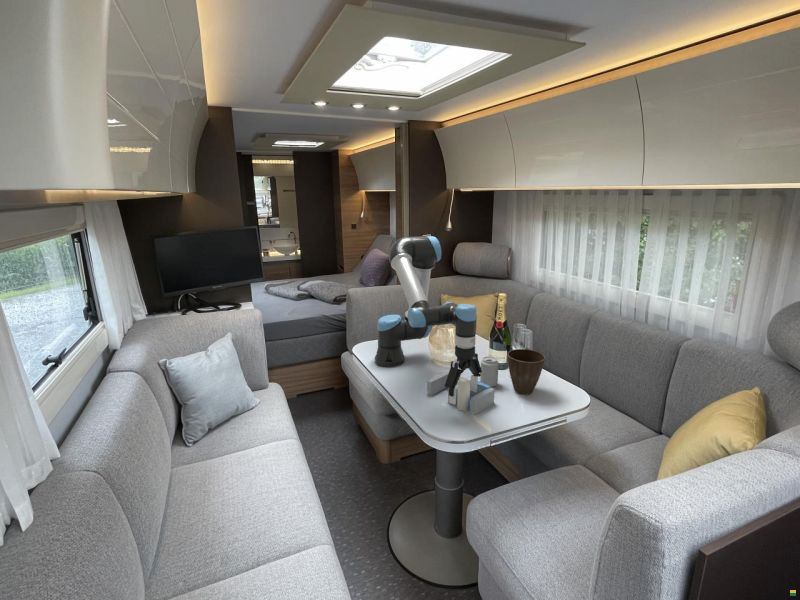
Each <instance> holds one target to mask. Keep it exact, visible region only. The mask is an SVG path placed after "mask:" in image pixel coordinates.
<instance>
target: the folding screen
mask: <svg viewBox="0 0 800 600" xmlns="http://www.w3.org/2000/svg"><path fill="white" fill-rule="evenodd" d="M448 374H449V371H446V372H443V373H441V374H439V375H437V376H435V377H432V378H431V379H429V380H427V384H426V385H427V386H426V387H427V389H426V390H427V395H429V396H433V395H435V394H437V393H439V392H441V391H443V390H445V389H447V403H448V404H450V405H451V406H454V404H452V403H450V402H449V388H447V387H445V384H446V380H447V377H448ZM460 379H467V380H470V388H471V379H468V378H465V377H464V376H462V375H461V376H460V378H459V380H460ZM455 388H456V404H457V393H458V382H457V384H456V386H455ZM495 393H496V392H495V388H493V387H490V386H489V385H486V384H483V383H481V382H480V381H478V383H477V392H474V391H471V390H470V408H469V413H470V414H472V415H475V416H476V415H477V414H479V413H480V412H482V411H483V410H485V409H486V408H488V407H490V406H491V405H493V404H494V403H495Z"/></svg>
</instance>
